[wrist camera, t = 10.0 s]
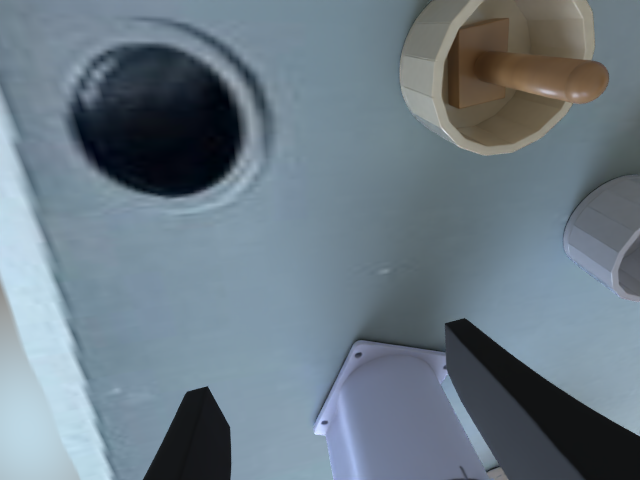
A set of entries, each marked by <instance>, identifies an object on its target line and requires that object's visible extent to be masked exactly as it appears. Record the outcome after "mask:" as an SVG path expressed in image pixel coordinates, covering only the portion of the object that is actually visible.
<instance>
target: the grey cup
mask: <svg viewBox="0 0 640 480" xmlns="http://www.w3.org/2000/svg"><path fill="white" fill-rule="evenodd" d="M563 246H564V250H565V253H566V255H567V256H568V258H569V259H570V260H571V261H573V262H574V263H575V264H577V266H578V267H579V268H581V269H582V270H584V271H585V272H586V273H588V274H589V275H590V276H592V277H593V278H594V279H596V280H597V281H598V282H600V283H601V284H602V285H604V286H605V287H607V288H608V289H609V290H611V291H612V292H613V293H615V294H616V295H617V296H619V297H620V298H622V299H626V300H630V301H635V302H640V175H626V176H622V177H619V178H615V179H613V180H611V181H609V182H607V183H605V184H603V185H601V186H600V187H598V188H597V189H595V190H594V191H593V192H592V193H590V194H589V195H588V196H587V197H586V198H585V199H584V200H583V201H582V202H581V203H580V204H579V205H578V207H577V208H576V209H575V211H574V212H573V214H572V215H571V217H570V219H569V221H568V223H567V225H566V228H565V232H564V237H563Z"/></svg>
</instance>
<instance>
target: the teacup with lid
mask: <svg viewBox="0 0 640 480" xmlns="http://www.w3.org/2000/svg"><path fill="white" fill-rule="evenodd" d="M487 474H488V476H489V478H490V479H491V478H493V479H495V480H508V478H507V476H506V475H505V473H504V471H503V470H502V468H501V467H498V468H495V469H493V470H490V471H488V472H487Z"/></svg>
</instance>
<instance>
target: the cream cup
mask: <svg viewBox="0 0 640 480" xmlns="http://www.w3.org/2000/svg"><path fill="white" fill-rule="evenodd" d="M494 18H509V35H508V52H512V53H522V54H532V55H542V56H552V57H562V58H572V59H582V60H592V57H593V53H594V49H595V36H594V22H593V12H592V9H591V7H590V6H589V4H588V2H587V0H432V1H431V2H430V3H429V4H428V5H427V6H426V7H425V8H424V10H423V11H422V12H421V13H420V15H419V16H418V17H417V19H416V20H415V22H414V24H413V25H412V27H411V29H410V31H409V33H408V36H407V38H406V40H405V43H404V46H403V50H402V55H401V59H400V70H399V71H400V85H401V91H402V94H403V98H404V100H405V102H406V105H407V107H408V108H409V110H410V112H411V113H412V114H413V115H414V117H415V118H416V119H417V120H418V121H419V122H421V123H422V124H423V125H425V126H426V128H427V129H429V130H431V131H432V132H434V133H436V134H438V135H439V136H441V137H443V138H444V139H446V140H448V141H450V142H451V143H453V144H455V145H456V146H458V147H460V148H462V149H465V150H468V151H471V152H474V153H477V154H480V155H483V156H484V155H485V156H488V155H496V154H505V153H512V152H515V151H517V150H519V149H521V148H523V147H525V146H527V145H529V144H531V143H533V142H535V141H537V140H539V139H541V138H542V137H543V136H544V135H545V134H546V133H547V132H548V131H549V130H550V129H552V128H553V127H554V126H555V125H556V124H557V123H558V122H559V121H560V120H561V119H562V118H563V117H564V116H565V115H566V114H567V113H568V111H569V109H570V108H571V106H572V104H573V103H570V102H566V101H561V100H557V99H553V98H549V97H545V96H541V95H536V94H532V93H528V92H524V91H520V90H515V89H511V88H507V87H506V90H505V98H503V99H499V100H495V101H491V102H486V103H482V104H478V105H474V106H470V107H466V108H462V109H458V108H455V107H453V106H450V105H449V100H448V53H449V50H450V48H451V46H452V44H453V41H454V39H455V37H456V34H457V32H458V30H459V28H460V27H461V26H464V25H468V24H472V23H477V22H481V21H485V20H489V19H494Z"/></svg>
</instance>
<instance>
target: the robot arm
mask: <svg viewBox="0 0 640 480" xmlns="http://www.w3.org/2000/svg"><path fill="white" fill-rule="evenodd" d="M445 343H446V352H440V351H433V350H426V349H419V348H412V347H406V346H399V345H392V344H385V343H378V342H371V341H365V340H359V341H357V342H355V343H354V344H353V346H352V348H351V350H350V352H349V354H348V356H347V359H346V361H345V363H344V365H343V367H342V369H341V371H340V373H339V375H338V377H337V379H336V381H335V383H334V385H333V387H332V389H331V392H330V394H329V396H328V398H327V400H326V402H325V404H324V406H323V408H322V410H321V412H320V414H319V416H318V418H317V420H316V423H315V425H314V427H313V429H314V433H315V434H317V435H326V440H327V445H328V451H329V456H330V462H331V468H332V473H333V479H334V480H495V479H493V478H491V479H490V478H489V476H488V474H487V472H486V470H485V469H484V467H483V465H482V463H481V461H480V459H479V457H478V455H477V453H476V451H475V449H474V448H473V446H472V444H471V442H470V440H469V438H468V436H467V434H466V432H465V430H464V428H463V427H462V425H461V423H460V421H459V419H458V417H457V415H456V413H455V411H454V409H453V407H452V406H451V404H450V402H449V400H448V398H447V396H446V394H445V392H444V390H443V388H442V386H441V384H442V382H443V381H444V379H445V378H446V376H447V375H448V374H449V376H450V378H451V381H452V383H453V385H454V387H455V389H456V391H457V393H458V395H459V398H460V400H461V402H462V403H463V405H464V407H465V408H466V410H467V412H468V414H469V415H470V417H471V419H472V420H473V422H474V424H475V425H476V427H477V429H478V430H479V432H480V433H481V435H482V437H483V438H484V440H485V442H486V443H487V445H488V447H489V448H490V450H491V452H492V453H493V455H494V457H495V458H496V460H497V461H498V463H499V465H500V466H501V468H502V470H503V471H504V473H505V475H506V476H507V478H508V480H640V436H638V435H636V434H634V433H633V432H631V431H629V430H627V429H625V428H624V427H622V426H620V425H618V424H616V423H615V422H613V421H611V420H609V419H608V418H606V417H604V416H603V415H601V414H599V413H598V412H596V411H594V410H592V409H591V408H589V407H588V406H586V405H584V404H583V403H581V402H579V401H578V400H576V399H575V398H573V397H572V396H570V395H568V394H567V393H565V392H564V391H562V390H561V389H559V388H558V387H556V386H555V385H553V384H552V383H550V382H549V381H547V380H546V379H545V378H543V377H542V376H540V375H539V374H537V373H536V372H535V371H533V370H532V369H530V368H529V367H528V366H526V365H525V364H524V363H522V362H521V361H519V360H518V359H517V358H515V357H514V356H513V355H511V354H510V353H509V352H507V351H506V350H505V349H503V348H502V347H501V346H500V345H498V344H497V343H496V342H494V341H493V340H492V339H491V338H489V337H488V336H487V335H486V334H484V333H483V332H482V331H481V330H479V329H478V328H477V327H476V326H474V325H473V324H472V323H471V322H470V321H468V320H467V319H465V318H464V319H460V320H456V321H452V322H449V323H445ZM357 352H359V353H357ZM230 477H231V439H230V426H229V424H228V423H227V421H226V419H225V417H224V415H223V414H222V412H221V410H220V408H219V406H218V404H217V403H216V401H215V399H214V397H213V395H212V393H211V392H210V390H209V388H208V386H207V387H203V388H199V389H196V390H192V391H188V392H187V393H186V394H185V396H184V398H183V400H182V402H181V404H180V406H179V408H178V411H177V413H176V415H175V417H174V419H173V421H172V423H171V425H170V427H169V430H168V432H167V434H166V436H165V438H164V440H163V442H162V444H161V446H160V448H159V450H158V452H157V454H156V456H155V458H154V460H153V461H152V463H151V465H150V467H149V469H148V471H147V473H146V475H145V477H144V479H143V480H230Z"/></svg>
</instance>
